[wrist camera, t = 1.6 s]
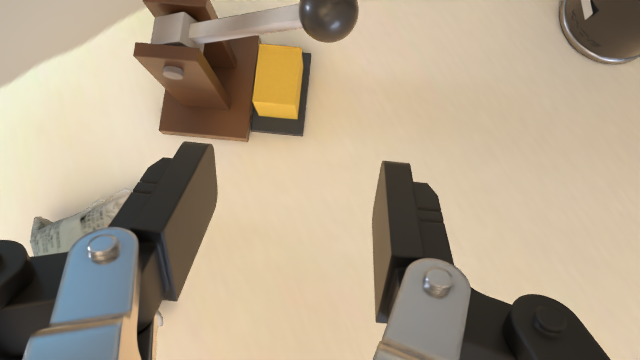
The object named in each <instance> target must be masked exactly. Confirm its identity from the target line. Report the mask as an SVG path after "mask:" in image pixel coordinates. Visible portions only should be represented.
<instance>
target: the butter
mask: <svg viewBox="0 0 640 360" xmlns="http://www.w3.org/2000/svg"><path fill="white" fill-rule="evenodd" d="M310 63H311V53H302V49H301V48H300V47H289V46H278V45H267V44H260V45H259V52H258V60H257V68H256V76H255V84H254V92H253V100H252V102H253V104H254V108H253V116H252V124H251V131H252V132H262V133H272V134H283V135H293V136H303V129H304V119H305V110H306V101H307V91H308V82H309V72H310Z"/></svg>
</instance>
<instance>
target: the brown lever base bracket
mask: <svg viewBox="0 0 640 360" xmlns="http://www.w3.org/2000/svg"><path fill="white" fill-rule="evenodd" d="M143 2H144V4H145V5H146V6H147V8H148V9H149V10H150V12H151V13H152V15H153V16H154V17H155V18H156V17H160V16H165V15H170V14H175V13H180V12H185V13H186V14H188V15H189V16H191V17H192V18H193V19H195V20H196V21H197V22H204V21H209V20H214V19H218V17H217V15H216V12H215V10H214V8H213V6H212V4H211V1H210V0H143ZM260 43H261V41H260V38H259V36H256V35H254V36H248V37H242V38H235V39H229V40H222V41H216V42H210V43H205V44H204V50H203V54H202V52H201V50H200V49H199V48H192V47H181V46H170V45H159V44H148V43H137V42H136V43H135V49H134V55H133V56H134V57H135V58H136V59H137V60H138V61H139V62H140V63H141V64H142V65H143V66H144V67H145V68H146V69H147V70H148V71H149V72H150V73H151V74H152V75H153V76H154V77H155V78H156V79H157V80H158V81H159V82H160V83H161V84H162V85H163V87H164V88H165V94H164V101H163V107H162V113H161V120H160V126H159V131H160V132H162V133H163V134H171V135H181V136H192V137H203V138H213V139H224V140H234V141H245V142H248V139H249V131H250V123H251V115H252V107H253V102H252V100H253V92H254V84H255V76H256V68H257V60H258V52H259V45H260Z"/></svg>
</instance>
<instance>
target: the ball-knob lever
mask: <svg viewBox="0 0 640 360" xmlns="http://www.w3.org/2000/svg"><path fill="white" fill-rule="evenodd" d="M357 19H358V2H357V0H300V3H299V4H295V5H290V6H284V7H279V8H274V9H268V10H263V11H258V12H252V13H247V14H241V15H236V16H231V17H225V18H220V19H214V20H209V21H204V22H197V21H196V20H195V19H193V18H192V17H191V16H189V15H188V14H186V13H185V12H180V13H175V14H170V15H165V16H160V17H156V18H155V21H154V27H153V33H152V39H151V44H159V45H170V46H181V47H192V48H199V49H200V50H201V52H202V54H203V50H204V44H205V43H210V42H216V41H222V40H229V39H235V38H242V37H248V36H254V35H261V34H267V33H273V32H280V31H286V30H293V29H299V28H304V30H305V31H306V32H307V34H308V35H310V36H311V37H312V38H314V39H315V40H318V41H321V42H326V43H331V42H336V41H339V40H341V39H343V38H345V37H346V36H347V35H348V34H349V33H350V32H351V31H352V30H353V28H354V26H355V24H356V22H357Z"/></svg>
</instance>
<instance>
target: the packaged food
mask: <svg viewBox="0 0 640 360" xmlns="http://www.w3.org/2000/svg"><path fill="white" fill-rule="evenodd" d="M130 194H131V190H130V189H123V190H122V191H120V192H119V193H117V194H116V195H114V196H111V197H109V198H108V199H106V200H105V201H101V200H97V201H96V202H95V203H94V204H93V205H91V206H90V207H88V208H87V209H86V210H84V211H82V212H80V213H78V214H76V215H74V216H72V217H69V218H65V219H62V220H59V221H56V222H54V223H53V222H51V221H49V220H47V219H43V218H42V217H35V218H34V222H33V227H32V232H31V240H30V243H31V246H32V250H33V254H34V256H41V255H49V254H56V253H63V252H68V251H69V250H70V248H71V247H72V245H73V244H74V243H75V242H76V241H77V240H78V239H79V238H81V237H82V236H84V235H85V234H87V233H89V232H92V231H94V230H97V229H101V228H107V227H108V226H109V224H110V223H111V221H112V220H113V218H114V217H115V216H116V214H117V213H118V211H119V210H120V208H121V207H122V205H123V204H124V202H125V201H126V200H127V198H128V197H129V195H130ZM111 199H112V200H111ZM99 203H100V204H99ZM89 209H90V210H89ZM156 315H157V321H158V325H157V327H159V326H162V325H163V317H162V315H161V313H160V312H159V310H157V312H156Z"/></svg>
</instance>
